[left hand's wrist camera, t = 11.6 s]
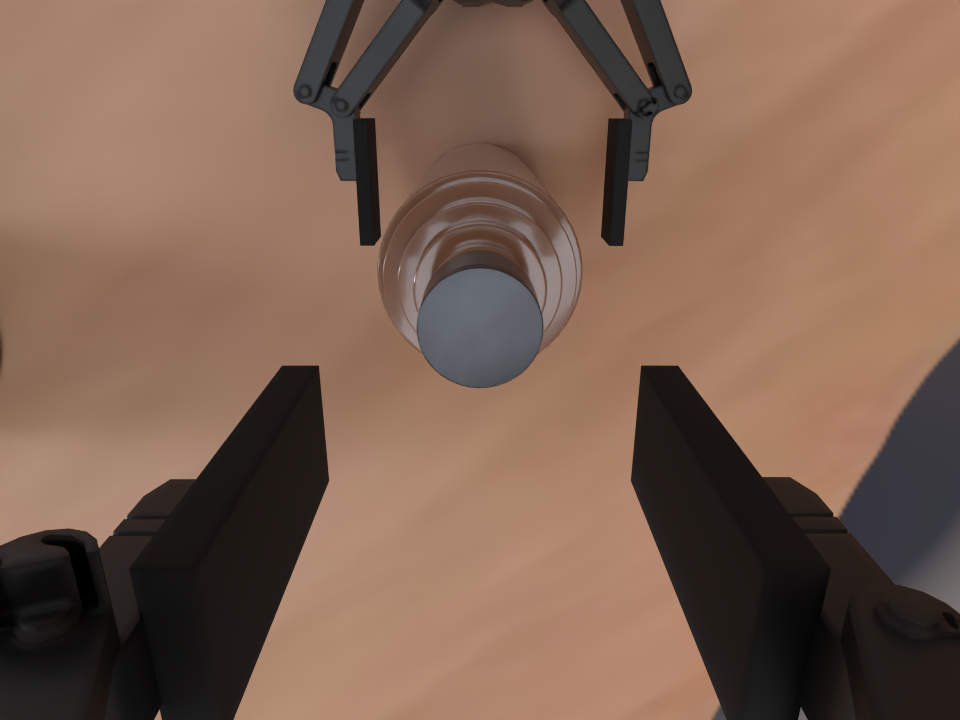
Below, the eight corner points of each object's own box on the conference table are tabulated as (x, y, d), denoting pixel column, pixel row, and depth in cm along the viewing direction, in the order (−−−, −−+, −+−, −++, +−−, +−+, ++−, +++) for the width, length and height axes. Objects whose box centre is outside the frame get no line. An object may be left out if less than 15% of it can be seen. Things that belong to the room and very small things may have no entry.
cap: (526, 369, 23) (531, 395, 21) (416, 353, 23) (409, 379, 21) (547, 260, 22) (554, 277, 20) (429, 243, 22) (424, 258, 20)
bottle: (530, 276, 46) (583, 458, 22) (411, 259, 46) (338, 426, 22) (552, 153, 43) (639, 213, 20) (425, 133, 43) (359, 170, 19)
